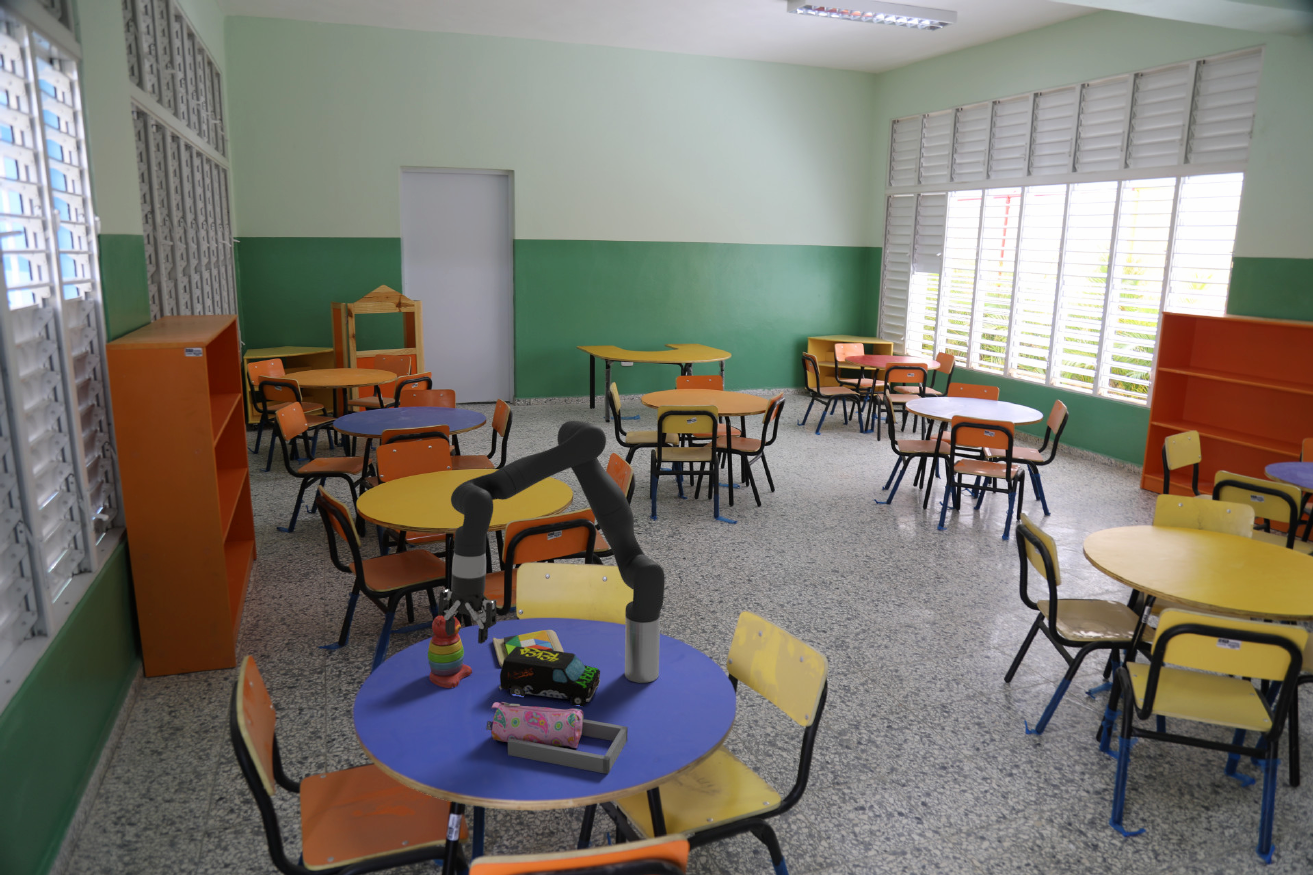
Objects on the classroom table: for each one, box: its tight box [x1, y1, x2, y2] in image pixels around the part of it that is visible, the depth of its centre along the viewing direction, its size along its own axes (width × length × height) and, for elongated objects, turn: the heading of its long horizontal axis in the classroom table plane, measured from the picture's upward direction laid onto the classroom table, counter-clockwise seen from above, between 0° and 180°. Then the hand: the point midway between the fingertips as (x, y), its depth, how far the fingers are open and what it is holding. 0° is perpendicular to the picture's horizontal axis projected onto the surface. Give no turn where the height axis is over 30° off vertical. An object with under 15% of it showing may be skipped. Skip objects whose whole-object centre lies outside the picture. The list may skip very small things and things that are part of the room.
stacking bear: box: [427, 615, 473, 689], centre depth 225 cm, size 11×10×18 cm
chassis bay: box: [507, 718, 628, 775], centre depth 196 cm, size 14×24×4 cm, turn 74°
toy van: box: [499, 647, 601, 707], centre depth 220 cm, size 11×25×10 cm, turn 77°
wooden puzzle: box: [492, 629, 565, 668], centre depth 243 cm, size 18×19×4 cm
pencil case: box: [485, 701, 585, 749], centre depth 197 cm, size 21×9×9 cm, turn 81°
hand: (466, 638), depth 196 cm, fingers open, 8 cm apart
